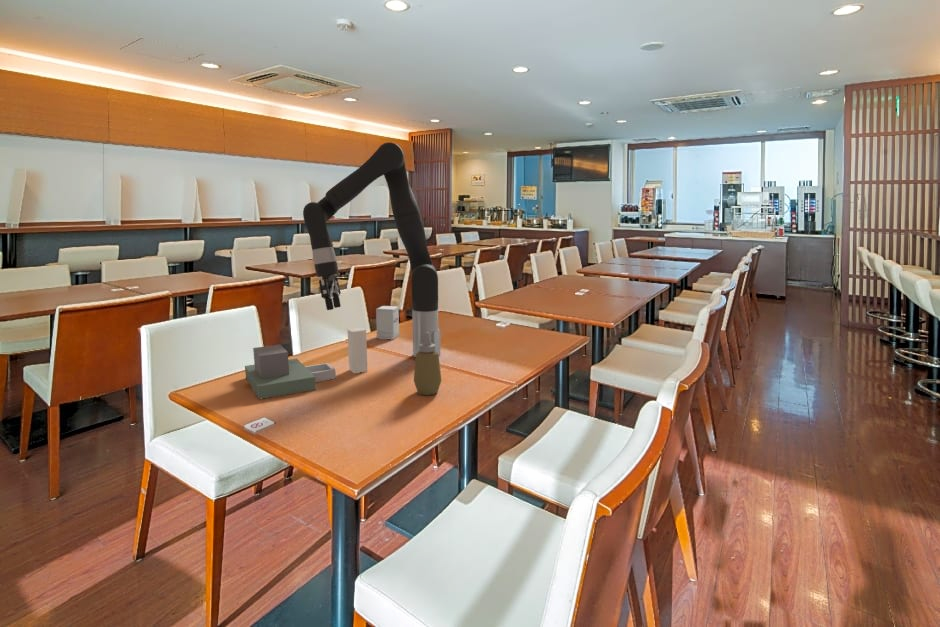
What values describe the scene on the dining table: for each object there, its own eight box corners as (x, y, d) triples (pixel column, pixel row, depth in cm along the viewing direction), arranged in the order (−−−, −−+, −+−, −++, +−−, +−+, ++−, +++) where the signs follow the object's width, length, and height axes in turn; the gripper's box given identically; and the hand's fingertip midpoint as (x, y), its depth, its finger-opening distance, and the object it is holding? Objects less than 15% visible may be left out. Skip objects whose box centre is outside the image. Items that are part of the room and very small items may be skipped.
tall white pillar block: (362, 367, 178) (360, 327, 175) (367, 371, 174) (365, 330, 171) (349, 370, 175) (347, 329, 172) (354, 373, 172) (352, 331, 169)
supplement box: (393, 340, 214) (392, 309, 211) (376, 339, 215) (375, 308, 213) (399, 335, 221) (398, 306, 218) (382, 334, 222) (381, 305, 220)
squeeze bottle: (414, 388, 158) (413, 329, 155) (441, 387, 159) (440, 329, 155) (413, 397, 151) (412, 336, 147) (442, 396, 151) (441, 336, 148)
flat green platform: (322, 366, 179) (320, 334, 177) (342, 384, 161) (341, 350, 159) (245, 378, 167) (242, 344, 165) (258, 399, 149) (255, 362, 146)
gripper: (329, 260, 173) (338, 309, 174) (341, 259, 187) (350, 305, 189) (307, 264, 173) (316, 312, 175) (321, 263, 187) (329, 308, 189)
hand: (334, 308), depth 182 cm, fingers open, 8 cm apart
